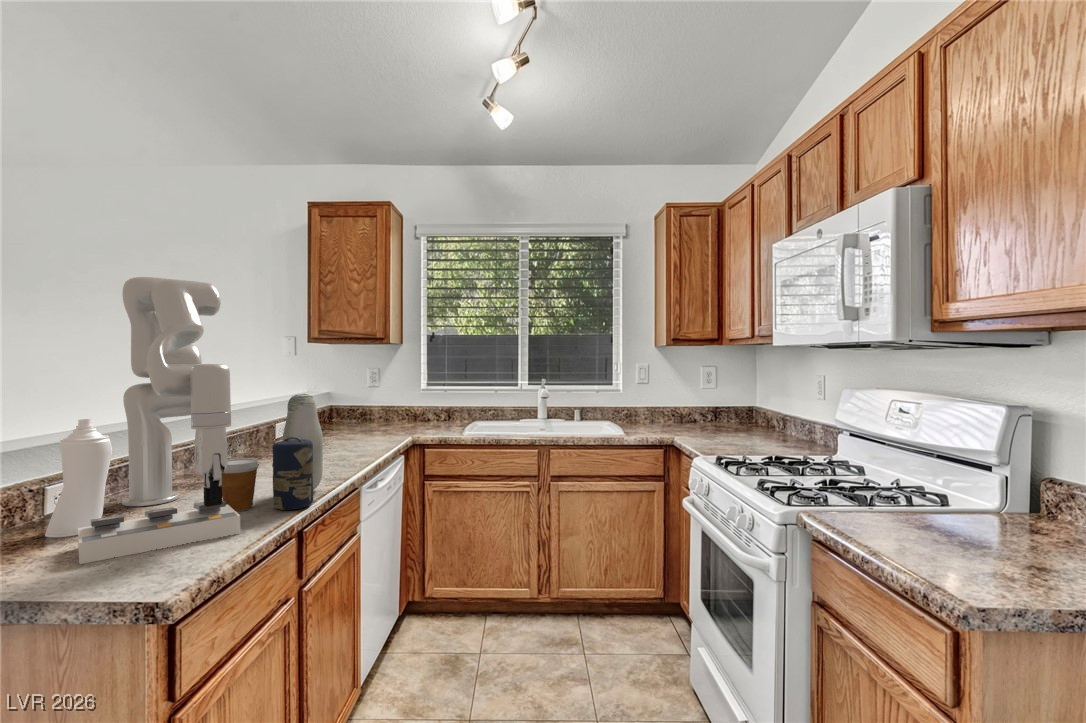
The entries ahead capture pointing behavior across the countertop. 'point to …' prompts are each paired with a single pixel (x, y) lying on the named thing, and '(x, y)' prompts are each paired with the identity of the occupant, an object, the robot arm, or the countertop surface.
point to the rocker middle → (160, 512)
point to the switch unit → (155, 533)
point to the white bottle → (81, 480)
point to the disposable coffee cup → (239, 483)
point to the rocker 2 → (202, 507)
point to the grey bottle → (306, 429)
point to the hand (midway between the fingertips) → (213, 504)
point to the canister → (292, 474)
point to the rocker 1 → (107, 520)
